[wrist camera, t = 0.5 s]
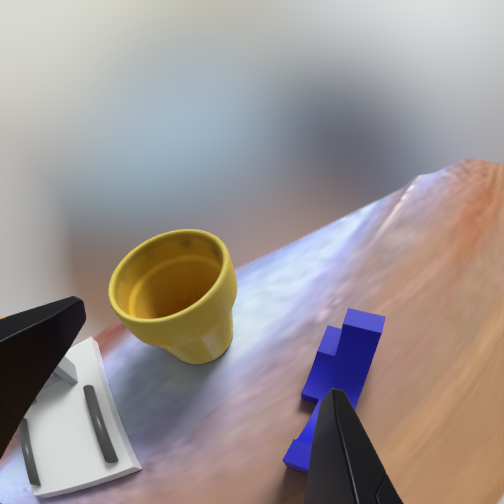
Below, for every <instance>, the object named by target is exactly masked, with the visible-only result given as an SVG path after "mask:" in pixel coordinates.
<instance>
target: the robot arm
mask: <svg viewBox="0 0 504 504" xmlns="http://www.w3.org/2000/svg"><path fill="white" fill-rule="evenodd" d="M85 321H86V313H85V307H84V303H83V301H82V300H81V299H80V298H78V297H75V296H71V297H68V298H65V299H62V300H59V301H55V302H52V303H49V304H46V305H43V306H40V307H36V308H33V309H30V310H27V311H23V312H20V313H17V314H14V315H11V316H8V317H4V318H1V319H0V459H1V458H2V456H3V454H4V452H5V450H6V448H7V446H8V444H9V442H10V441H11V439H12V437H13V435H14V433H15V432H16V430H17V428H18V427H19V425H20V423H21V421H22V419H23V418H24V416H25V415H26V413H27V411H28V410H29V408H30V406H31V405H32V403H33V402H34V400H35V398H36V397H37V395H38V394H39V392H40V391H41V389H42V388H43V386H44V385H45V383H46V382H47V380H48V379H49V377H50V376H51V374H52V373H53V372H54V370H55V369H56V367H57V366H58V364H59V363H60V362H61V360H62V359H63V357H64V356H65V354H66V353H67V352H68V350H69V348H70V347H71V345H72V343H73V341H74V340H75V338H76V336H77V335H78V333H79V331H80V330H81V328H82V326H83V324H84V323H85ZM0 504H1V503H0ZM304 504H403V502H402V500H401V499H400V497H399V495H398V494H397V492H396V490H395V488H394V486H393V485H392V483H391V481H390V479H389V477H388V475H387V474H386V471H385V469H384V467H383V465H382V463H381V461H380V459H379V457H378V455H377V453H376V451H375V449H374V447H373V445H372V443H371V441H370V439H369V437H368V435H367V433H366V432H365V430H364V428H363V426H362V424H361V422H360V420H359V418H358V416H357V414H356V412H355V410H354V408H353V406H352V405H351V403H350V401H349V399H348V397H347V395H346V393H345V391H344V390H341V389H336V388H332V389H330V391H329V392H328V393H327V395H326V396H325V397H324V399H323V400H322V402H321V404H320V407H319V412H318V417H317V422H316V426H315V431H314V436H313V440H312V445H311V453H310V462H309V471H308V479H307V486H306V494H305V500H304Z"/></svg>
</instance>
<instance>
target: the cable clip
mask: <svg viewBox="0 0 504 504" xmlns="http://www.w3.org/2000/svg"><path fill="white" fill-rule="evenodd" d="M384 321H385V317H384V316H380V315H375V314H371V313H367V312H363V311H358V310H354V309H350V308H348V310H347V313H346V316H345V319H344V322H343V326H342V329H339V328H335V327H332V326H327V329H326V331H325V334H324V336H323V339H322V341H321V343H320V346H319V348H318V351H317V354H316V357H315V360H314V363H313V366H312V369H311V372H310V375H309V377H308V380H307V382H306V384H305V387H304V389H303V391H302V393H301V396H302V399H304V400H307V401H311V402H314V403H317V405H316V407H315V409H314V411H313V413H312V415H311V417H310V419H309V421H308V423H307V425H306V426H305V428H304V430H303V431H302V433H301V434H300V436H299V437H298V438H297V439H296V440H295V439H294V440H293V442H292V444H291V446H290V447H289V449H288V451H287V453H286V455H285V457H284V459H283V462H284V463H285V464H286V466H287V467H289V468H292V469H294V470H297V471H300V472H303V473H306V474H308V471H309V462H310V453H311V445H312V440H313V436H314V431H315V426H316V422H317V417H318V412H319V407H320V404H321V402H322V400H323V399H324V397H325V396H326V395H327V393H328V392H329V391H330V389H332V388H336V389H341V390H344V391H345V393H346V395H347V397H348V399H349V401H350V403H351V405H352V406H353V408H354V410H355V407H356V404H357V402H358V399H359V396H360V393H361V391H362V388H363V385H364V382H365V379H366V377H367V374H368V371H369V368H370V365H371V362H372V359H373V356H374V354H375V351H376V348H377V345H378V342H379V339H380V336H381V334H382V330H383V326H384Z"/></svg>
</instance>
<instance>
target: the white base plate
mask: <svg viewBox="0 0 504 504" xmlns="http://www.w3.org/2000/svg"><path fill="white" fill-rule="evenodd" d="M54 372H55V373H56V374H57V375H59V376H60V377H61V378H62V379H63V380H61V381H59V382H57V383H55V384H53V385H51V386H49V387H47V388H45V389H43V390H41V391H40V392H39V394H38V395H37V397H36V398H35V400H34V402H33V403H32V405H31V406H30V408H29V410H28V411H27V413H26V415H25V416H24V418H23V419H22V421H21V423H20V425H19V432H20V439H21V445H22V450H23V455H24V460H25V465H26V469H27V473H28V477H29V481H30V484H31V486H32V489H33V493H34V496H38V497H42V498H48V497H53V496H58V495H63V494H67V493H71V492H75V491H79V490H82V489H86V488H89V487H93V486H96V485H99V484H103V483H106V482H109V481H112V480H115V479H117V478H120V477H123V476H126V475H128V474H131V473H134V472H136V471H139V470H141V469H142V467H141V465H140V463H139V461H138V459H137V457H136V454H135V452H134V450H133V448H132V445H131V443H130V441H129V438H128V436H127V433H126V431H125V429H124V426H123V423H122V421H121V418H120V415H119V413H118V410H117V407H116V404H115V401H114V398H113V395H112V392H111V389H110V386H109V383H108V379H107V376H106V373H105V369H104V366H103V362H102V358H101V354H100V350H99V346H98V343H97V342H96V341H95V340H94V339H93V338H92V337H89V338H88V339H86V340H84V341H82V342H80V343H79V344H77V345H75V346H73V347H71V348H70V349H69V350H68V352H67V353H66V354H65V356H64V357H63V359H62V360H61V362H60V363H59V364H58V366H57V367H56V369H55V370H54Z"/></svg>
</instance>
